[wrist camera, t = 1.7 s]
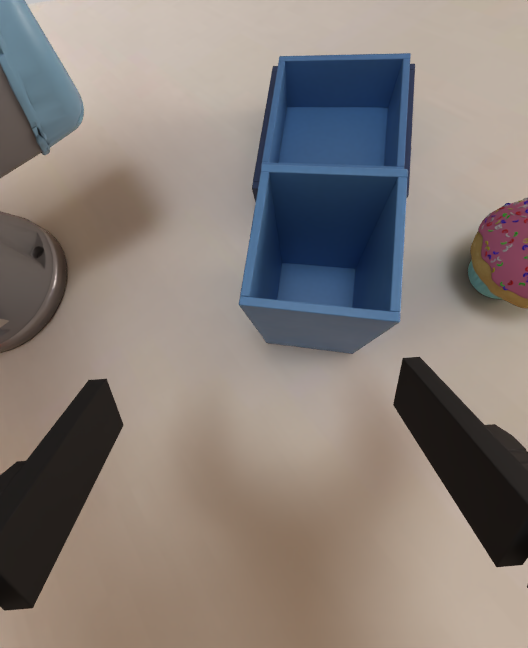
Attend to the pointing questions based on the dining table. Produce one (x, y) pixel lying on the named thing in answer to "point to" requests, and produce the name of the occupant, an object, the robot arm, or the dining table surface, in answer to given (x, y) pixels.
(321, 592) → the dining table surface
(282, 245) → the lone bin
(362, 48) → the dining table surface
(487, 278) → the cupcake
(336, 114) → the bin stack
